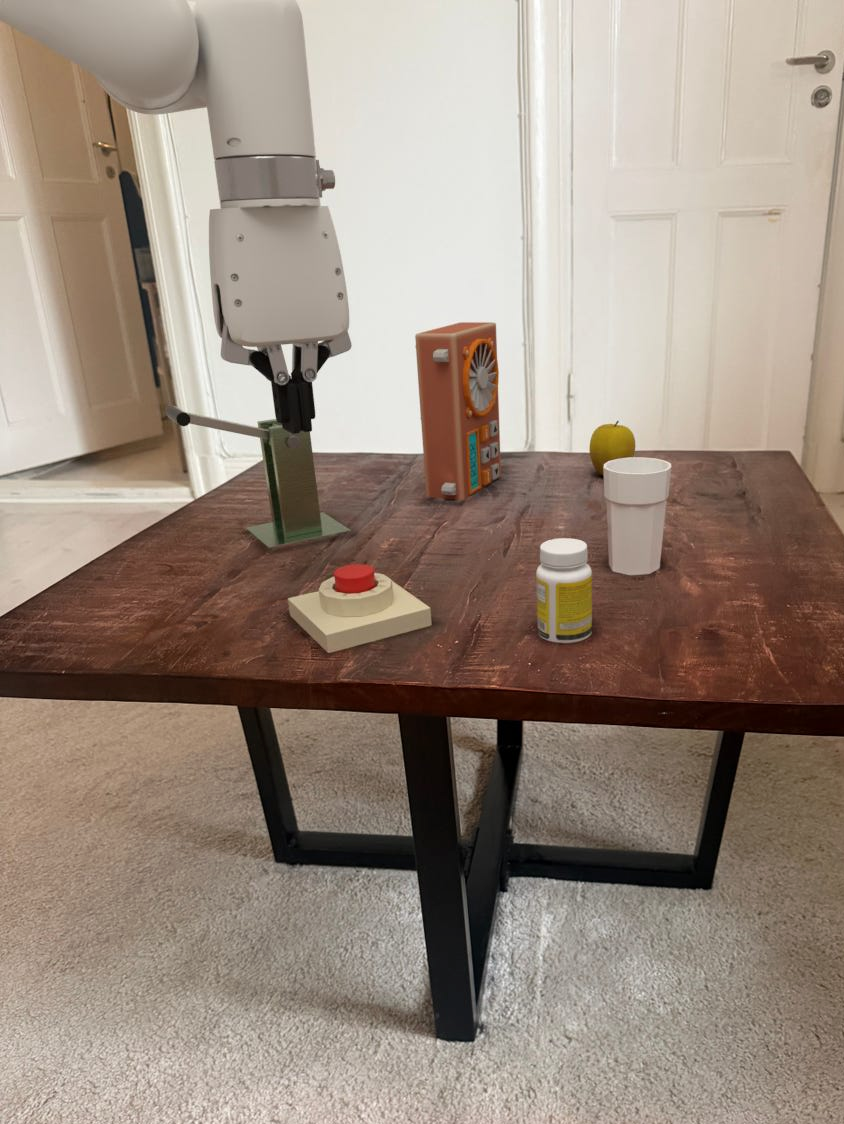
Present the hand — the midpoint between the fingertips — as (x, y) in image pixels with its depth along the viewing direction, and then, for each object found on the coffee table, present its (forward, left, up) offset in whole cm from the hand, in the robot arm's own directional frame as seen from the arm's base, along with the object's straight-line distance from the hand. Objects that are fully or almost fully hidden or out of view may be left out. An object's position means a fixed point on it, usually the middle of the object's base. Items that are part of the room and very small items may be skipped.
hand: (297, 429), depth 76 cm
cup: (+32, -6, -18) cm, 37 cm away
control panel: (+32, +30, -18) cm, 47 cm away
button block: (+3, -2, -18) cm, 18 cm away
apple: (+53, +25, -18) cm, 61 cm away
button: (+3, -2, -15) cm, 15 cm away
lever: (+1, +26, -5) cm, 27 cm away
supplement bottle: (+17, -15, -18) cm, 29 cm away
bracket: (+7, +26, -18) cm, 32 cm away
